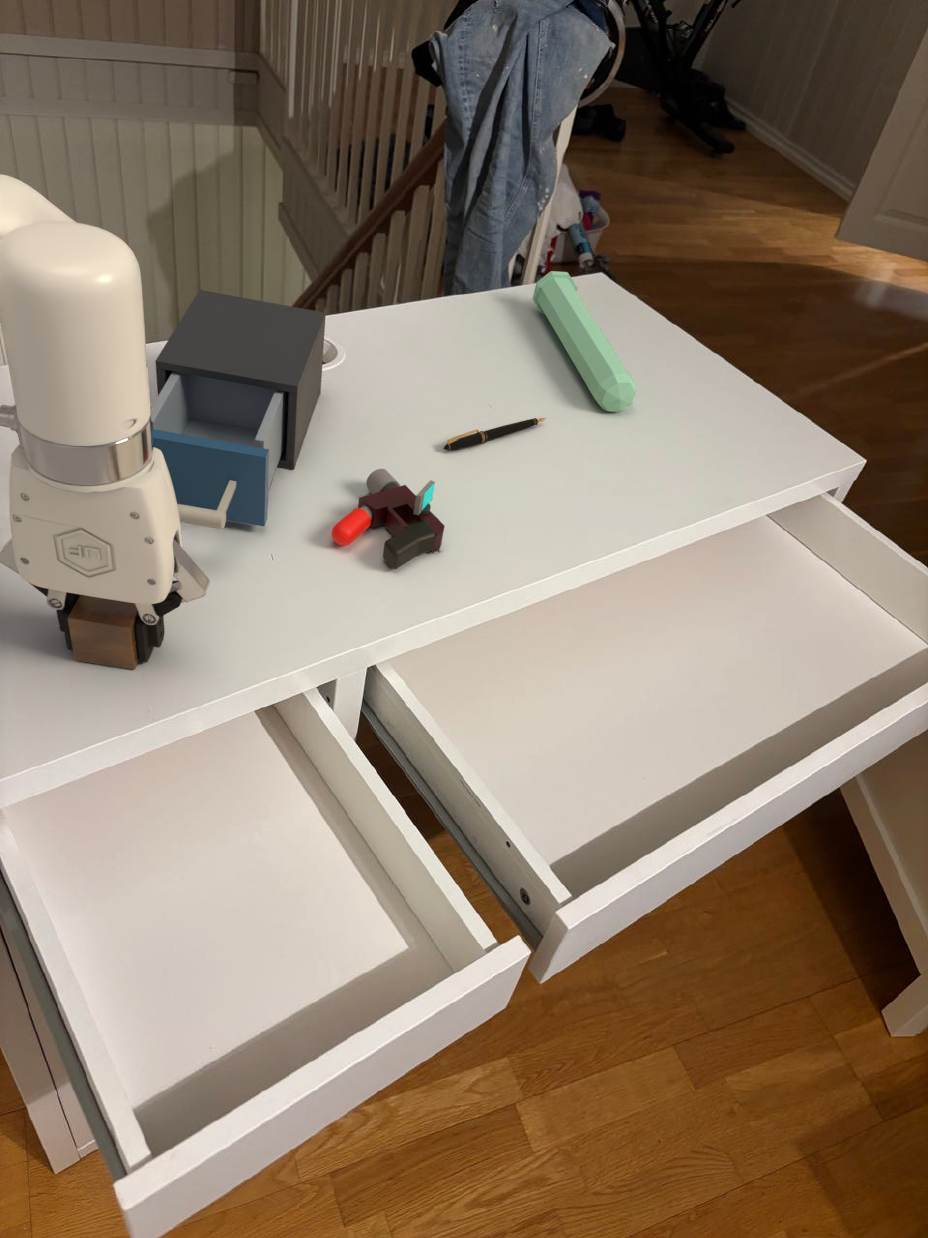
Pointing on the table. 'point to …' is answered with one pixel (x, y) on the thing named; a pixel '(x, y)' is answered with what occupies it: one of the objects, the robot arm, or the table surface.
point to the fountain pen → (488, 434)
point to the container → (584, 341)
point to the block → (104, 632)
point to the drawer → (220, 446)
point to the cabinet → (252, 353)
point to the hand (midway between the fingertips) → (114, 641)
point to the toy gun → (394, 519)
